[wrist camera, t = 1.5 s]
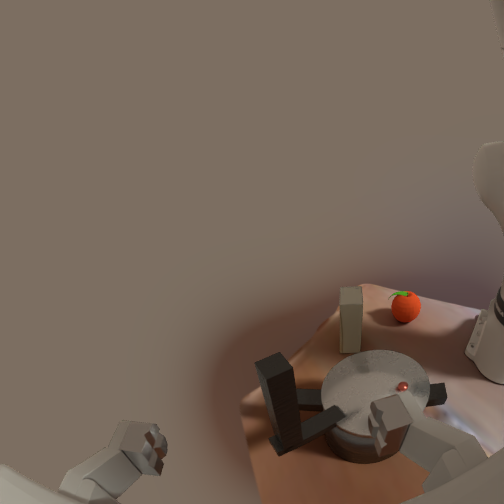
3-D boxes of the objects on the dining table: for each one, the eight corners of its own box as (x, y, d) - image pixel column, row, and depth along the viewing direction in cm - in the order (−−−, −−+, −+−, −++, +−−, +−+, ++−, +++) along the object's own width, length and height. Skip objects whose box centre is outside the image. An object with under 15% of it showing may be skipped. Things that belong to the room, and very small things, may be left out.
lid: (380, 341, 39) (384, 261, 34) (448, 389, 26) (477, 302, 21) (250, 409, 33) (224, 330, 28) (304, 495, 19) (294, 439, 15)
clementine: (382, 324, 56) (383, 297, 53) (391, 307, 60) (392, 282, 58) (414, 331, 50) (418, 304, 48) (421, 313, 55) (424, 287, 52)
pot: (427, 388, 36) (438, 352, 33) (434, 457, 24) (455, 426, 21) (285, 391, 45) (279, 357, 42) (264, 457, 33) (252, 429, 30)
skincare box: (341, 334, 56) (339, 286, 52) (361, 333, 55) (361, 285, 50) (339, 354, 51) (338, 304, 47) (361, 353, 49) (363, 303, 45)
